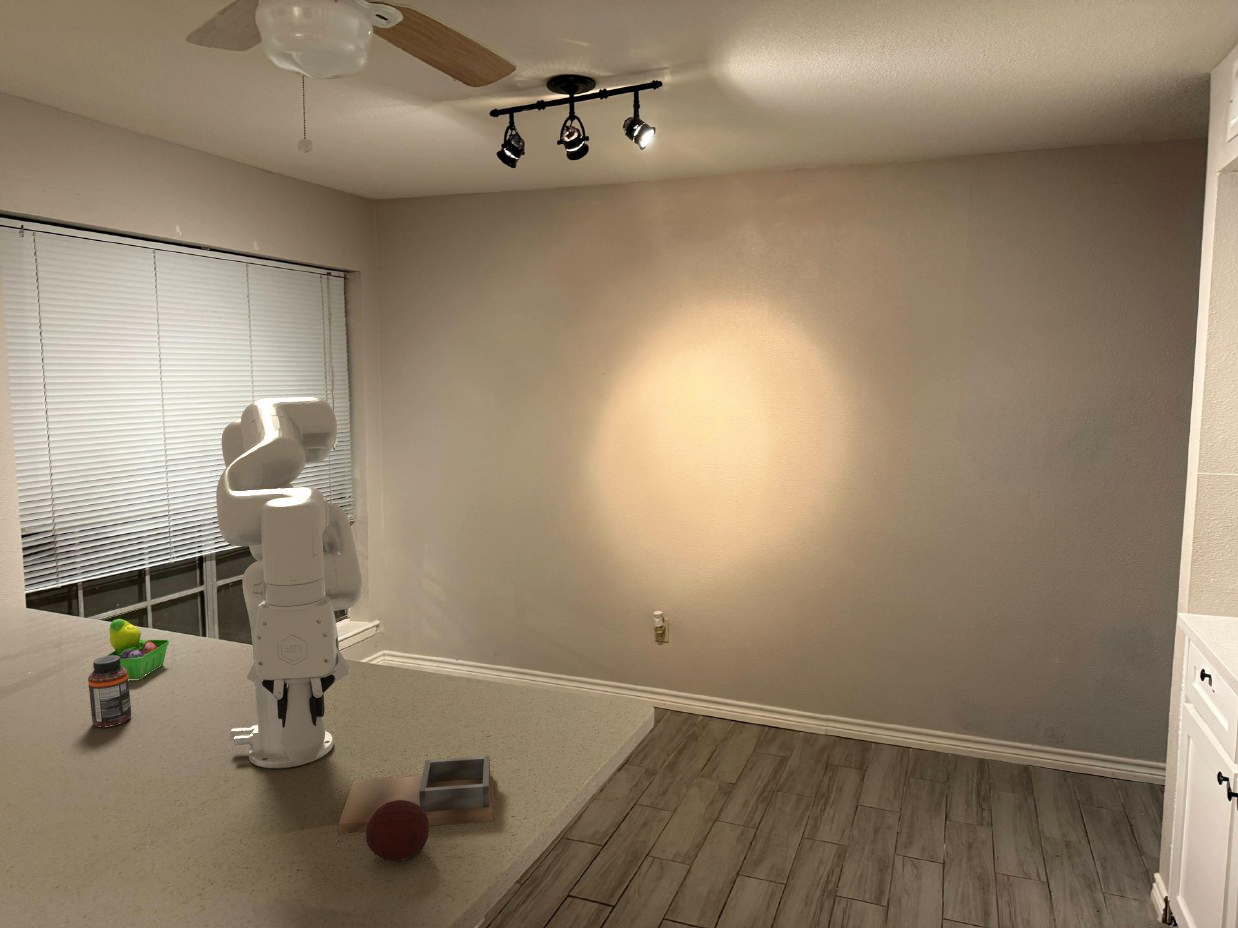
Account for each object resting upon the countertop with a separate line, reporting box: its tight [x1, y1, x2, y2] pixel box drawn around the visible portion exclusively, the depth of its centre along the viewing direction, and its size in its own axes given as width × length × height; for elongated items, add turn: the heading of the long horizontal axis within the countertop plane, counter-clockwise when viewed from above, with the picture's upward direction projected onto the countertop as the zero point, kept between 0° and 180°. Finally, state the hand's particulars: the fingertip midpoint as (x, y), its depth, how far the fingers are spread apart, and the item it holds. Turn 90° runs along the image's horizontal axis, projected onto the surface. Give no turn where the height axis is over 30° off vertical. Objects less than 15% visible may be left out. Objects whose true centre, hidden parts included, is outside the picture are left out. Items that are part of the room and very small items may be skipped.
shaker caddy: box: [337, 755, 494, 834], centre depth 120 cm, size 20×12×4 cm, turn 98°
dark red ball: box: [365, 800, 430, 862], centre depth 107 cm, size 7×8×7 cm
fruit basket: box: [106, 618, 170, 679], centre depth 173 cm, size 11×9×11 cm
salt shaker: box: [280, 678, 326, 761], centre depth 116 cm, size 6×6×13 cm
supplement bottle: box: [87, 655, 132, 728], centre depth 149 cm, size 6×6×11 cm
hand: (301, 721), depth 117 cm, fingers closed on salt shaker, 3 cm apart
